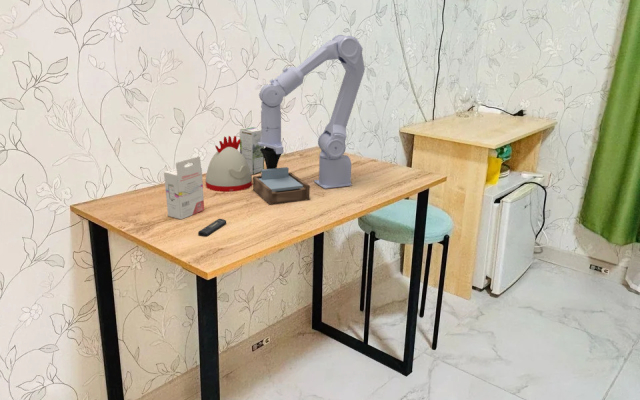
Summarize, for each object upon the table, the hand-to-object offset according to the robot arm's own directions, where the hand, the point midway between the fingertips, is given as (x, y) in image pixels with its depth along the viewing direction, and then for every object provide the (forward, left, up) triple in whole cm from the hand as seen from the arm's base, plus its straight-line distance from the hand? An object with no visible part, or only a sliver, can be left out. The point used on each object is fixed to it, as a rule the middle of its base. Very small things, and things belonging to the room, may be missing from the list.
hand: (271, 172), depth 154 cm
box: (0, +7, -5) cm, 9 cm away
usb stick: (+24, +26, -5) cm, 36 cm away
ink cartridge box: (+28, +12, -5) cm, 31 cm away
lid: (0, +7, -2) cm, 7 cm away
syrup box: (0, -19, -5) cm, 19 cm away
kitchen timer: (+11, -8, -5) cm, 14 cm away
